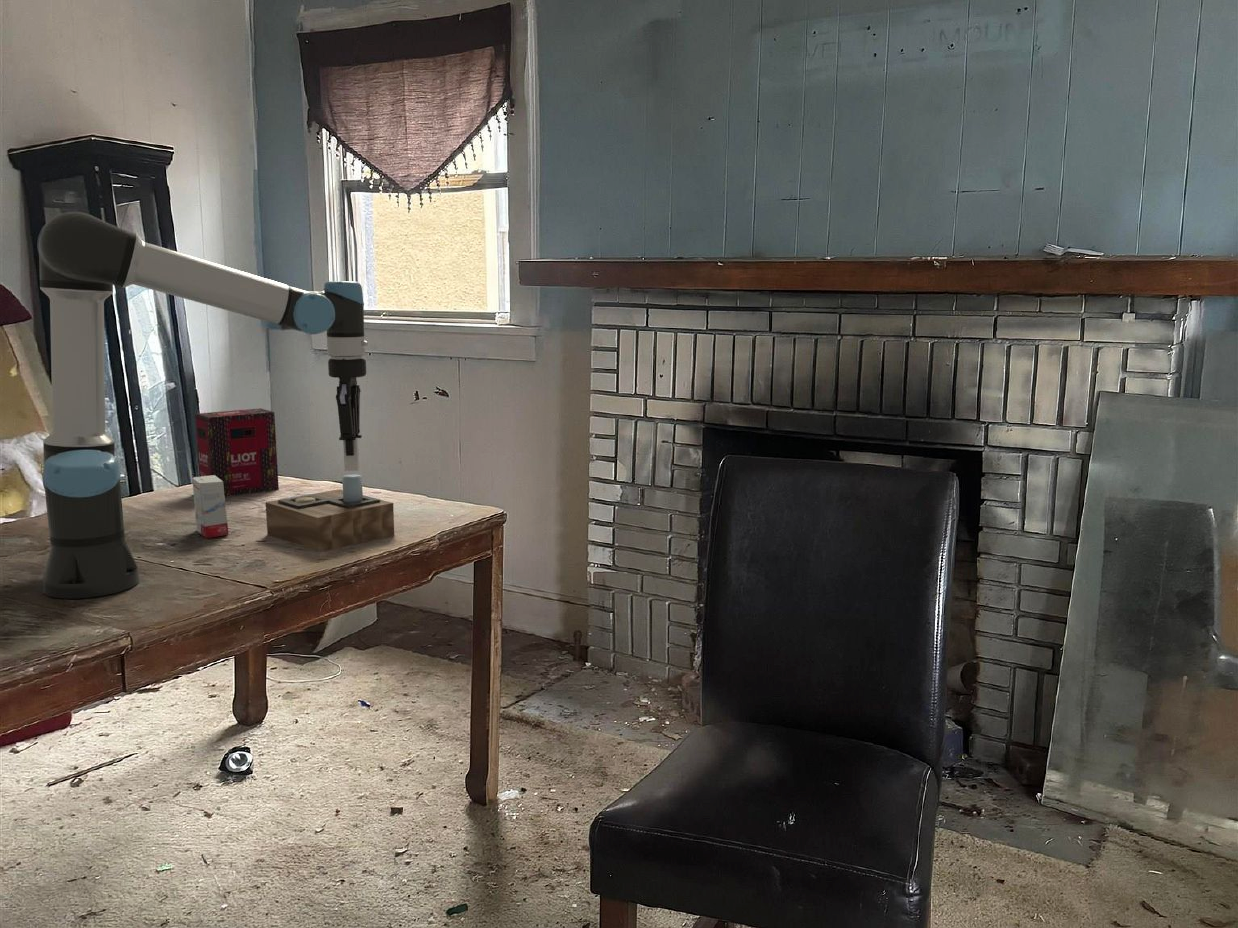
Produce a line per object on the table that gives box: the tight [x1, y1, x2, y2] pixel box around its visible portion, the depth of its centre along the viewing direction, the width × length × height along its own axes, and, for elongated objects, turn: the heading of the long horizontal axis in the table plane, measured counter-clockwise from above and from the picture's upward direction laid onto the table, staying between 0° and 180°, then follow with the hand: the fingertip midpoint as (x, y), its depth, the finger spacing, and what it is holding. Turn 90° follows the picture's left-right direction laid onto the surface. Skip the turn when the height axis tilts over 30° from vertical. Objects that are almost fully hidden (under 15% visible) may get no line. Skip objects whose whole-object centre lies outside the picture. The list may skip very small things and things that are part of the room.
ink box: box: [191, 475, 230, 539], centre depth 215 cm, size 9×5×12 cm, turn 33°
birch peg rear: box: [295, 497, 315, 504], centre depth 214 cm, size 4×4×8 cm
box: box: [194, 407, 280, 498], centre depth 255 cm, size 16×9×20 cm, turn 130°
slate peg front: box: [341, 474, 364, 503], centre depth 214 cm, size 4×4×8 cm
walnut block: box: [265, 488, 395, 553], centre depth 215 cm, size 18×20×8 cm
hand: (351, 469), depth 213 cm, fingers closed
